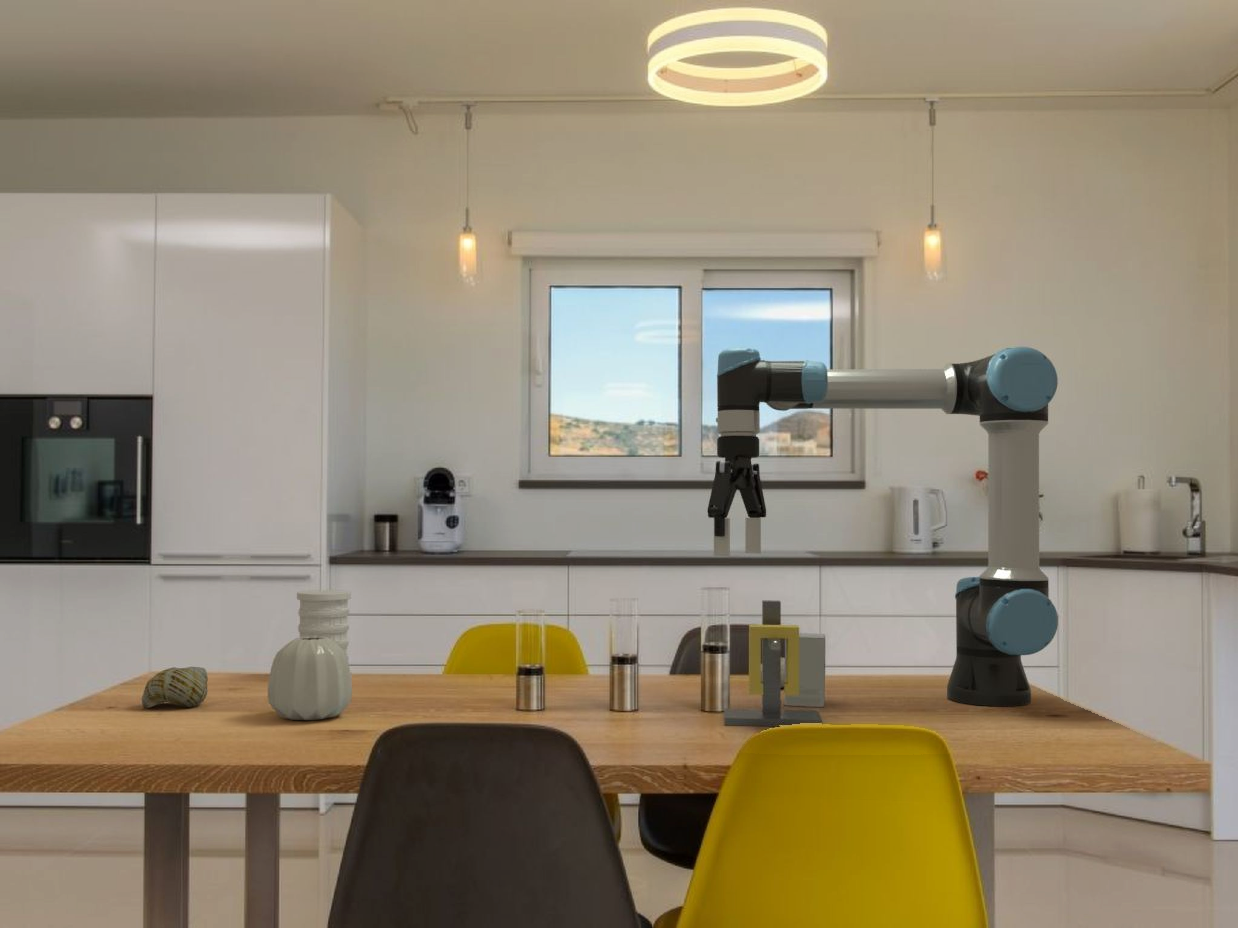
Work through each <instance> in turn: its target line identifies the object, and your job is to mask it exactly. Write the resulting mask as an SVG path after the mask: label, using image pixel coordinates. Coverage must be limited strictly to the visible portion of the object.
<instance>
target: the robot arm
mask: <svg viewBox="0 0 1238 928" xmlns="http://www.w3.org/2000/svg"><path fill="white" fill-rule="evenodd" d="M760 356H761V355H760V351H759V350H758V349H756V348H746V347H732V348H731V347H730V348H726V349H723V350H722V351H721V352H720V353H719V354H718V357H717V358H718V360H717V374H716V377H717V378H716V381H717V382H716V383H717V384H716V385H717V389H716V391H717V396H716V398H717V400H716V401H717V402H716V403H717V417H716V419H715V422H716V424H717V433H718V434H719V435H720V436H718V437H717V438H716V451H717V452H716V455H717V457H719V458H722V459H724V460H717V461H716V462H715V471H714V472H715V473H714V478H713V483H712V487H711V488H712V489H711V493H710V497H709V501H708V505H707V516H708V519H709V518H712V519H713V556H714V557H715V556H716V557H718V556H719V557H730V556H731V553H730V552H731V546H730V545H731V519H730V518H729V517H728V516H729V513H730V510H731V508H732V504H733V502H734V498H735V495H736V492H737V491H739V493H740V496H741V500H742V502H743V505H744V508H745V511H746V514H747V517H745V532H744V533H745V539H744V540H745V544H744V545H745V554H761V550H762V548H761V547H762V546H761V545H762V543H761V540H762V539H761V538H762V537H761V536H762V530H761V529H762V528H761V527H762V526H761V525H762V524H761V523H762V520H761V518H766V517H767V507H766V503H765V497H764V492H763V486H762V481H761V476H760V464H759V463H752V459H754V458H758V457H759V456H760V438H759V436H757V435H758V434H759V433H760V431H761V430H760V429H761V428H760V421H761V420H760V419H761V418H760V414H761V413H760V403H765V404H766V405H767V406H768V407H769V408H771V409H773V410H775V411H783V412H784V411H785V412H786V411H788V410H808V409H812V410H813V409H814V410H815V409H817V410H818V409H820V410H821V409H822V410H823V409H824V410H825V409H827V410H829V409H832V410H833V409H836V410H837V409H843V410H845V409H849V410H851V409H855V410H856V409H858V410H859V409H861V410H862V409H865V410H866V409H867V410H868V409H871V410H873V409H874V410H875V409H876V410H879V409H880V410H881V409H883V410H884V409H886V410H887V409H889V410H890V409H894V410H895V409H903V410H904V409H906V410H908V409H909V410H912V409H920V410H921V409H922V410H923V409H925V410H926V409H927V410H929V409H933V410H935V409H940V410H942V412H944V413H945V414H946V415H968V416H969V415H970V416H979V426H980V427H981V428H982V429H984V430H985V431H986V432H987V434H988V439H987V440H988V442H987V445H988V446H987V447H988V448H987V449H988V455H987V456H988V463H987V464H988V471H987V473H988V476H987V477H988V481H987V482H988V491H987V492H988V495H987V496H988V497H987V498H988V505H987V506H988V507H987V508H988V509H987V511H988V512H987V513H988V515H987V516H988V524H987V525H988V529H987V530H988V531H987V532H988V533H987V534H988V535H987V536H988V540H987V542H988V543H987V544H988V548H987V549H988V556H987V557H988V559H987V560H988V566H987V567H986V569H985V570H984V571H983V572H982V573H981V574H980V575H979V576H969V577H968V576H967V577H963V578H960V579H959V580H958V581H957V583H956V591H955V595H954V598H955V614H956V616H955V621H956V622H955V623H956V625H955V626H956V627H955V628H956V630H955V634H956V636H955V638H956V645H955V646H956V658H955V661H954V663H953V667H952V670H951V673H950V676H949V679H948V682H947V687H946V698H947V699H949V700H951V701H954V702H959V703H962V704H963V703H964V704H970V705H978V706H991V707H1009V706H1011V707H1012V706H1013V707H1015V706H1023V705H1028V704H1030V703H1032V690H1031V686H1030V684H1029V681H1028V677H1027V675H1026V672H1025V669H1024V668H1025V667H1024V665H1023V663H1022V656H1029V655H1034V654H1036V653H1039V652H1040V651H1042V650H1044V649H1045V648H1046V647H1048V646H1049V644H1051V642H1052V641H1053V639H1054V638H1055V635H1056V634H1057V631H1058V626H1059V617H1058V611H1057V609H1056V606H1055V605H1054V603H1053V601H1052V600H1051V599H1050V598H1049V597H1050V596H1049V595H1050V594H1049V591H1050V590H1049V577H1048V576H1047V575H1046V574H1045V573H1044V572H1043V571H1042V569H1041V568H1040V434H1041V432H1042V431H1043V429H1045V428H1046V426H1047V425H1049V404H1050V403H1051V401H1052V400H1053V398H1054V396H1055V394H1056V391H1057V389H1058V382H1059V380H1058V379H1059V378H1058V374H1057V373H1058V372H1057V370H1056V368H1055V365H1054V364H1053V362H1052V361H1051V360H1050V359H1049V358H1048V357H1047V356H1046V355H1045V354H1044V353H1043V352H1041V351H1040V350H1038V349H1036V348H1032V347H1029V346H1028V347H1027V346H1014V347H1006V348H1004V349H1001V350H999V351H998V352H997V353H994V354H991V355H990V356H986V357H984V358H980V359H978V360H977V359H976V360H974V361H968V362H962V363H961V362H960V363H959V362H958V363H947V364H945V365H944V367H942V368H920V369H919V368H915V369H914V368H913V369H912V368H910V369H909V368H901V369H900V368H894V369H892V368H890V369H889V368H884V369H883V368H882V369H874V368H873V369H868V368H867V369H866V368H864V369H863V368H862V369H861V368H860V369H859V368H855V369H853V368H852V369H851V368H848V369H847V368H845V369H843V368H841V369H838V368H837V369H836V368H835V369H832V368H831V369H827V366H826V364H825V363H824V362H822V361H813V360H808V359H807V360H785V361H783V360H778V361H777V360H765V359H762V358H761V357H760Z"/></svg>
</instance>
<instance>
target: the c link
mask: <svg viewBox="0 0 1238 928" xmlns="http://www.w3.org/2000/svg"><path fill="white" fill-rule="evenodd" d="M799 633H800V626H799V625H797V624H781V625H762V624H749V625H748V694H749V695H753V696H754V695H755V696H756V695H758V696H762V695H763V681H762V680H761V664H762V638H781V639H785V638H787V681H784V687H783V692H784V696H785V695H798V696H799Z"/></svg>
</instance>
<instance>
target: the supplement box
mask: <svg viewBox="0 0 1238 928" xmlns="http://www.w3.org/2000/svg"><path fill="white" fill-rule="evenodd" d="M784 658H785V681H787V638H784ZM825 693H826V634H825V633H802V632H801V633H800V632H799V696H798V695H785V694H784V702H783V703H784V706H788V707H790V706H791V707H809V708H811V707H812V708H824V707H825V696H826V695H825Z"/></svg>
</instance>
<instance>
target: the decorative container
mask: <svg viewBox="0 0 1238 928" xmlns="http://www.w3.org/2000/svg"><path fill="white" fill-rule="evenodd" d="M296 592H297V591H296ZM350 599H352V591H349V590H338V589H336V590H333V589H331V590H330V589H329V590H328V589H326V590H325V589H321V590H320V589H319V590H318V589H317V590H303V591H298V592H297V593H296V600H298V601H299V609H298V612H297V613H298V616H299V624H298V626H297V630H298V632H299V638H300V637H315V636H317V637H326V638H329V639H330V640H332V641H334V642H335V643H336V644H338V645H339V646H340V647H341V648H342V649H343V650H344V651H345V653H346V656H347V659H348V660H349V656H348V651H347V650H348V647H349V642H350V641H349V639H348V632H349V630H350V629H349V628H350V627H349V626H350V625H349V622H348V617H349V614H350V609H349V608H348V603H349V602H348V601H349V600H350ZM350 673H351V677H352V672H351V671H350Z"/></svg>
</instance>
